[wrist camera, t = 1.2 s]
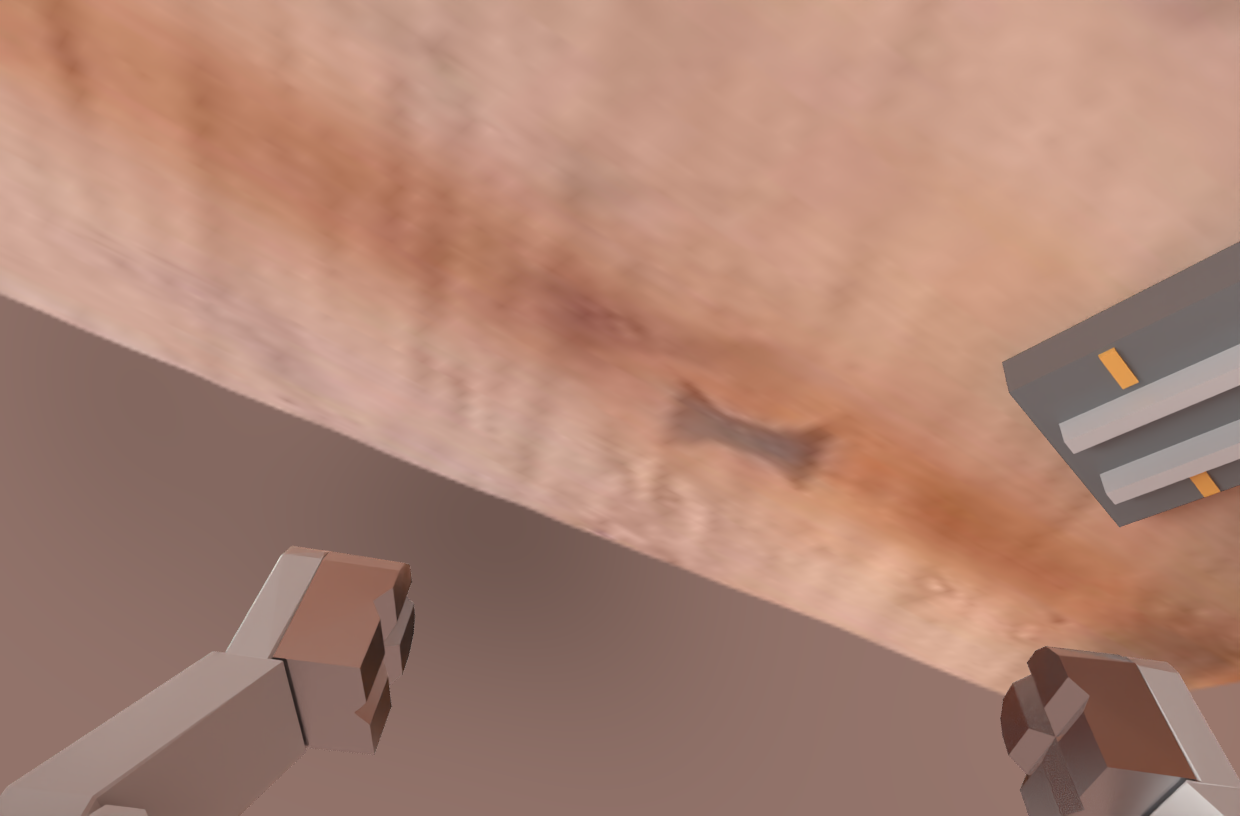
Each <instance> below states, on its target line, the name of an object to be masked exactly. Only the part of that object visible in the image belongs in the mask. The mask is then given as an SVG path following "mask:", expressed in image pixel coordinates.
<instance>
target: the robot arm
mask: <svg viewBox="0 0 1240 816" xmlns="http://www.w3.org/2000/svg"><path fill="white" fill-rule="evenodd" d="M411 583H412V577H411V569H410V565H409V564H406V563H401V562H395V561H388V560H382V559H376V558H370V557H363V556H357V555H351V554H344V553H338V552H332V551H323V550H317V549H310V548H303V547H296V546H291V547H290V548H289V549H288V550H287V551H286V552H284V553H283V554H282V555H281V556H280V558H279V560H278V561H277V563H276V565H275V567H274V568H273V570H272V572H271V573H270V575H269V577H268V579H267V580H266V582H265V584H264V586H263V587H262V589H261V591H260V593H259V594H258V596H257V598H256V600H255V601H254V603H253V605H252V606H251V608H250V610H249V612H248V613H247V615H246V617H245V619H244V621H243V622H242V624H241V626H240V627H239V629H238V631H237V633H236V634H235V636H234V638H233V640H232V641H231V643H230V645H229V646H228V648H227V650H226V652H216V651H213V652H211V653H210V654H208V655H206V656H205V657H203V658H202V659H201V660H199V661H197V662H196V663H194V664H193V665H191V666H190V667H188V668H187V669H185V670H184V671H182V672H181V673H179V674H178V675H176V676H175V677H173V678H172V679H170V680H168V681H167V682H165V683H164V684H162V685H161V686H159V687H158V688H156V689H155V690H153V691H152V692H150V693H149V694H147V695H146V696H144V697H143V698H141V699H140V700H138V701H137V702H135V703H134V704H132V705H131V706H129V707H128V708H126V709H124V710H123V711H121V712H120V713H118V714H117V715H115V716H114V717H112V718H111V719H109V720H108V721H106V722H105V723H103V724H102V725H100V726H99V727H97V728H95V729H94V730H92V731H91V732H90V733H88V734H86V735H85V736H83V737H82V738H80V739H79V740H77V741H76V742H74V743H73V744H71V745H70V746H68V747H67V748H65V749H64V750H62V751H61V752H59V753H57V754H56V755H55V756H53V757H51V758H50V759H48V760H47V761H45V762H44V763H42V764H41V765H39V766H38V767H36V768H35V769H33V770H32V771H30V772H29V773H27V774H26V775H24V776H23V777H21V778H19V779H18V780H16V781H15V782H13V783H12V784H10V785H9V786H7V787H6V789H5V790H4V792H3V793H2V794H1V796H0V816H240V815H241V814H242V813H243V812H244V811H245V810H246V809H247V808H248V807H249V806H250V805H251V804H252V803H253V802H254V801H255V800H256V799H257V798H259V797H260V796H261V795H262V794H263V793H264V792H265V791H266V790H267V789H268V788H269V787H270V786H271V785H272V784H273V783H274V782H275V781H276V780H277V779H279V778H280V777H281V776H282V775H283V774H284V773H285V772H286V771H287V770H288V769H289V768H290V767H291V766H292V765H293V764H294V763H295V762H296V761H297V760H299V759H300V758H301V757H302V756H303V755H304V754H305V753H306V748H315V749H325V750H333V751H343V752H352V753H362V754H372V755H374V754H375V751H376V749H377V746H378V743H379V740H380V737H381V735H382V732H383V729H384V726H385V723H386V721H387V718H388V715H389V712H390V709H391V707H392V706H391V697H390V688H389V685H391V684H392V683H393V682H394V681H396V680H397V679H398V678H399V677H401V676H402V675H403V672H404V669H405V666H406V663H407V660H408V657H409V653H410V649H411V644H412V639H413V634H414V624H415V609H414V603H413V602H412V601H411V600H410V599H409V598H408V597H407V594H408V591H409V589H410V586H411ZM1027 664H1028V667H1029V669H1030V672H1031V675H1029V676H1027V677H1025V678H1023V679H1020V680H1018V681H1016V682H1014V683H1012V685H1011V687H1010V688H1009V690H1008V692H1007V693H1006V695H1005V697H1004V698H1003V704H1002V711H1001V718H1000V719H1001V728H1002V736H1003V739H1004V743H1005V746H1006V749H1007V752H1008V755H1009V756H1010V757H1011V759H1013V760H1014V762H1016V764H1017V765H1018V766H1019V767H1020V768H1021V769H1022V770H1023V771H1024V772H1025V773H1026V776H1025V778H1024V781H1023V783H1022V786H1021V788H1020V792H1021V794H1022V797H1023V800H1024V803H1025V806H1026V809H1027V812H1028V815H1029V816H1240V780H1239V778H1238V776H1237V775H1236V773H1235V771H1234V769H1233V767H1232V766H1231V764H1230V762H1229V760H1228V759H1227V757H1226V755H1225V754H1224V752H1223V750H1222V748H1221V746H1220V745H1219V743H1218V741H1217V740H1216V738H1215V736H1214V734H1213V732H1212V731H1211V729H1210V727H1209V725H1208V724H1207V722H1206V720H1205V718H1204V717H1203V715H1202V713H1201V711H1200V710H1199V708H1198V706H1197V704H1196V703H1195V701H1194V699H1193V698H1192V696H1191V694H1190V692H1189V690H1188V688H1187V687H1186V685H1185V683H1184V681H1183V680H1182V678H1181V676H1180V674H1179V673H1178V672H1177V670H1176V669H1174V668H1173V667H1172V666H1171V665H1170V664H1169V663H1168V662H1162V661H1155V660H1147V659H1140V658H1132V657H1122V656H1120V655H1115V654H1107V653H1098V652H1090V651H1081V650H1073V649H1064V648H1056V647H1048V646H1045V647H1043V648H1041V649H1038V650H1036V651H1035V652H1034V654H1033V655H1032V656H1031V658H1030V659H1029V660H1028V662H1027Z"/></svg>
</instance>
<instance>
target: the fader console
mask: <svg viewBox="0 0 1240 816" xmlns="http://www.w3.org/2000/svg"><path fill="white" fill-rule="evenodd" d="M1002 364H1003V368H1004V373H1005V377H1006V382H1007V386H1008V391H1009V393H1010V395H1011V396H1012V397H1013V398H1014V399H1015V401H1016V402H1017V403H1018V404H1019V406H1020V407H1021V408H1022V409H1023V410H1024V412H1025V413H1026V414H1027V415H1028V416H1029V418H1030V419H1031V420H1032V421H1033V423H1034V424H1035V425H1036V426H1037V427H1038V429H1039V430H1040V431H1041V432H1042V434H1043V435H1044V436H1045V437H1046V438H1047V440H1048V441H1049V442H1050V443H1051V445H1052V446H1053V447H1054V448H1055V449H1056V451H1057V452H1058V453H1059V454H1060V455H1061V457H1062V458H1063V459H1064V460H1065V462H1066V463H1067V464H1068V465H1069V466H1070V468H1071V469H1072V470H1073V471H1074V473H1075V474H1076V475H1077V476H1078V477H1079V479H1080V480H1081V481H1082V482H1083V483H1084V485H1085V486H1086V487H1087V488H1088V490H1089V491H1090V492H1091V493H1092V494H1093V496H1094V497H1095V498H1096V499H1097V501H1098V502H1099V503H1100V504H1101V505H1102V507H1103V508H1104V509H1105V510H1106V512H1107V513H1108V514H1109V515H1110V516H1111V518H1112V519H1113V520H1114V521H1115V522H1116V524H1117V525H1118V526H1119V527H1121V526H1124V525H1127V524H1130V523H1133V522H1136V521H1138V520H1141V519H1144V518H1147V517H1150V516H1153V515H1156V514H1158V513H1161V512H1164V511H1167V510H1170V509H1173V508H1176V507H1178V506H1181V505H1184V504H1187V503H1190V502H1193V501H1195V500H1198V499H1201V498H1204V497H1207V496H1210V495H1213V494H1216V493H1218V492H1221V491H1224V490H1227V489H1230V488H1233V487H1235V486H1238V485H1240V242H1238V243H1236V244H1234V245H1232V246H1230V247H1228V248H1226V249H1224V250H1222V251H1220V252H1218V253H1217V254H1215V255H1213V256H1211V257H1209V258H1207V259H1205V260H1203V261H1201V262H1199V263H1197V264H1195V265H1193V266H1191V267H1189V268H1187V269H1185V270H1183V271H1181V272H1179V273H1177V274H1175V275H1173V276H1171V277H1169V278H1167V279H1165V280H1163V281H1161V282H1159V283H1158V284H1156V285H1154V286H1152V287H1150V288H1148V289H1146V290H1144V291H1142V292H1140V293H1138V294H1136V295H1134V296H1132V297H1130V298H1128V299H1126V300H1124V301H1122V302H1120V303H1118V304H1116V305H1114V306H1112V307H1110V308H1108V309H1106V310H1104V311H1102V312H1100V313H1099V314H1097V315H1095V316H1093V317H1091V318H1089V319H1087V320H1085V321H1083V322H1081V323H1079V324H1077V325H1075V326H1073V327H1071V328H1069V329H1067V330H1065V331H1063V332H1061V333H1059V334H1057V335H1055V336H1053V337H1051V338H1049V339H1047V340H1045V341H1043V342H1041V343H1040V344H1038V345H1036V346H1034V347H1032V348H1030V349H1028V350H1026V351H1024V352H1022V353H1020V354H1018V355H1016V356H1014V357H1012V358H1010V359H1008V360H1006V361H1004V362H1002Z"/></svg>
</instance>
